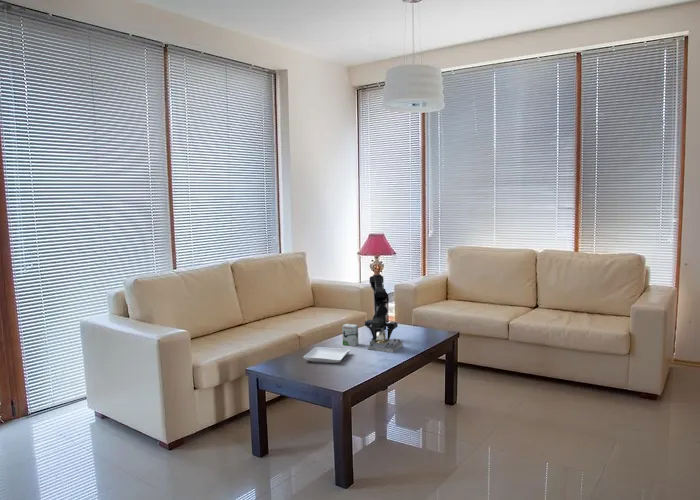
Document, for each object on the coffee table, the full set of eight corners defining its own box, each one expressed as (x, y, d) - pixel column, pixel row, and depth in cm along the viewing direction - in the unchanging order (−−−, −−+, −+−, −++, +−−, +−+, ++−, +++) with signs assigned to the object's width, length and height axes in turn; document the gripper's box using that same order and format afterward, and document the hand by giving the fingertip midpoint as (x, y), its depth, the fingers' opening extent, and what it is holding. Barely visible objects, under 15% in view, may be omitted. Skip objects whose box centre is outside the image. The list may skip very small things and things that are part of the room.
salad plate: (351, 354, 303) (351, 348, 303) (340, 365, 283) (340, 359, 282) (315, 352, 309) (315, 346, 308) (302, 363, 288) (302, 357, 288)
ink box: (342, 345, 321) (341, 325, 320) (345, 342, 326) (344, 323, 324) (355, 346, 318) (355, 326, 317) (358, 344, 322) (358, 324, 321)
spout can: (374, 344, 313) (374, 330, 312) (379, 342, 317) (378, 327, 316) (383, 345, 310) (383, 330, 309) (387, 343, 315) (387, 328, 314)
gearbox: (367, 349, 310) (367, 341, 310) (378, 343, 323) (378, 335, 322) (392, 352, 303) (392, 344, 302) (402, 346, 315) (402, 338, 314)
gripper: (359, 313, 309) (360, 340, 311) (389, 316, 300) (389, 344, 302) (368, 309, 319) (369, 335, 321) (397, 312, 310) (398, 339, 311)
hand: (381, 338), depth 313 cm, fingers open, 9 cm apart
